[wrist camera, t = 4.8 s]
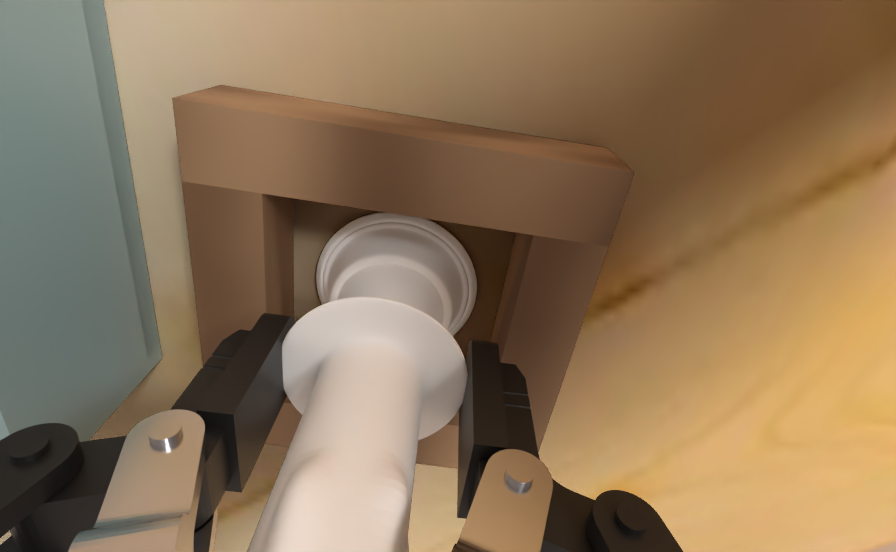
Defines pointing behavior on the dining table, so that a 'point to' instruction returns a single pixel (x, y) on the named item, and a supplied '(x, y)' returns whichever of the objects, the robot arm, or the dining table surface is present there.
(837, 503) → the dining table surface
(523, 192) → the collar block
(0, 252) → the bin
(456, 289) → the candle
